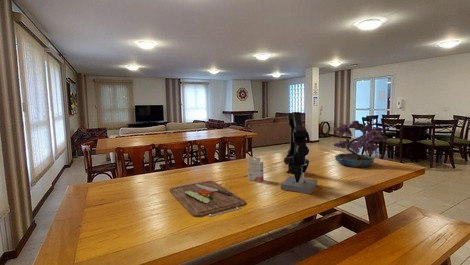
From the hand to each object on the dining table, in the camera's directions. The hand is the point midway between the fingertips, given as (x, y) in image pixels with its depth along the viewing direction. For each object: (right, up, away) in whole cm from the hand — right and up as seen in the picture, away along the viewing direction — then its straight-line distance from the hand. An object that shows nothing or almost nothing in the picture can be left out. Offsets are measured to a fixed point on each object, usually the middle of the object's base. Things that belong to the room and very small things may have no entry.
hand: (299, 180), depth 139 cm
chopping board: (-51, -7, -11) cm, 53 cm away
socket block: (0, -4, 0) cm, 4 cm away
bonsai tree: (+54, +2, +45) cm, 71 cm away
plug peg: (0, -4, 0) cm, 4 cm away
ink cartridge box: (-23, -3, +15) cm, 27 cm away
